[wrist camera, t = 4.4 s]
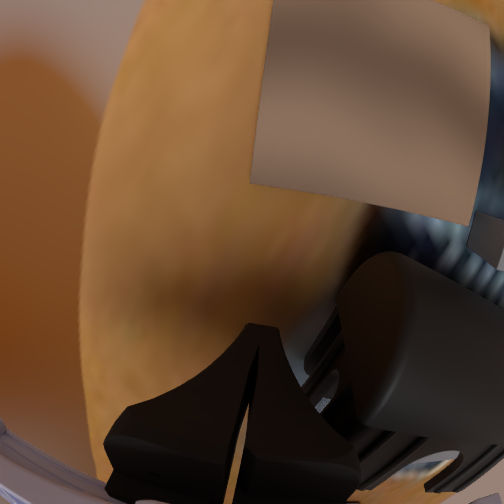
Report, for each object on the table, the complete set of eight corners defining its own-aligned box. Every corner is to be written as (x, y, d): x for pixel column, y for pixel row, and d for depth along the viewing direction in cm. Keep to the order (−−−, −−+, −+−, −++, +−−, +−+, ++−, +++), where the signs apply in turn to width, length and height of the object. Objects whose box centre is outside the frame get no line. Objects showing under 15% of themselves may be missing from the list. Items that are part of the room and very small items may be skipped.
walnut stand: (454, 218, 10) (468, 226, 9) (254, 179, 11) (249, 183, 10) (474, 33, 8) (489, 26, 6) (280, -20, 8) (278, -34, 7)
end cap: (520, 305, 11) (592, 387, 5) (443, 405, 14) (476, 500, 7) (369, 219, 11) (445, 316, 5) (290, 359, 14) (279, 492, 7)
